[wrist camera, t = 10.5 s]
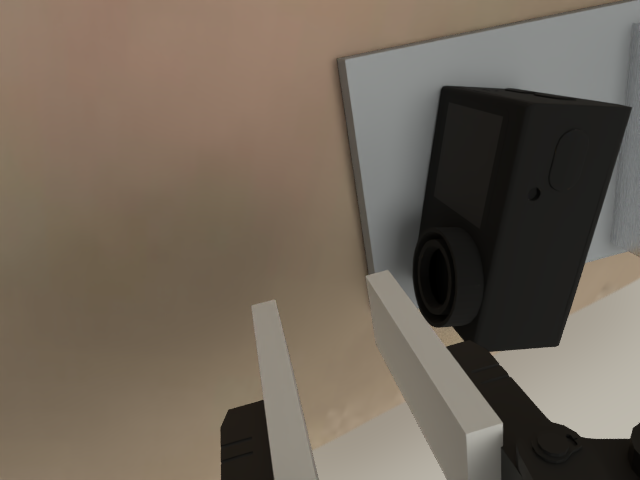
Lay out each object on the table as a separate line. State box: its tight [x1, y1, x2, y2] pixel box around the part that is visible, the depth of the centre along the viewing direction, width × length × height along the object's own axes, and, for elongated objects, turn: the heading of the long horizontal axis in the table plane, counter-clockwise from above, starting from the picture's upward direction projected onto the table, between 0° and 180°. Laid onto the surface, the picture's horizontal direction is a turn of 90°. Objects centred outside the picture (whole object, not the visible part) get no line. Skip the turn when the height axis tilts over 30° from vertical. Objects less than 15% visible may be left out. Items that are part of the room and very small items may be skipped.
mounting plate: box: [337, 0, 640, 309], centre depth 25 cm, size 18×14×2 cm
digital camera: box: [412, 86, 632, 352], centre depth 21 cm, size 10×5×7 cm, turn 177°
